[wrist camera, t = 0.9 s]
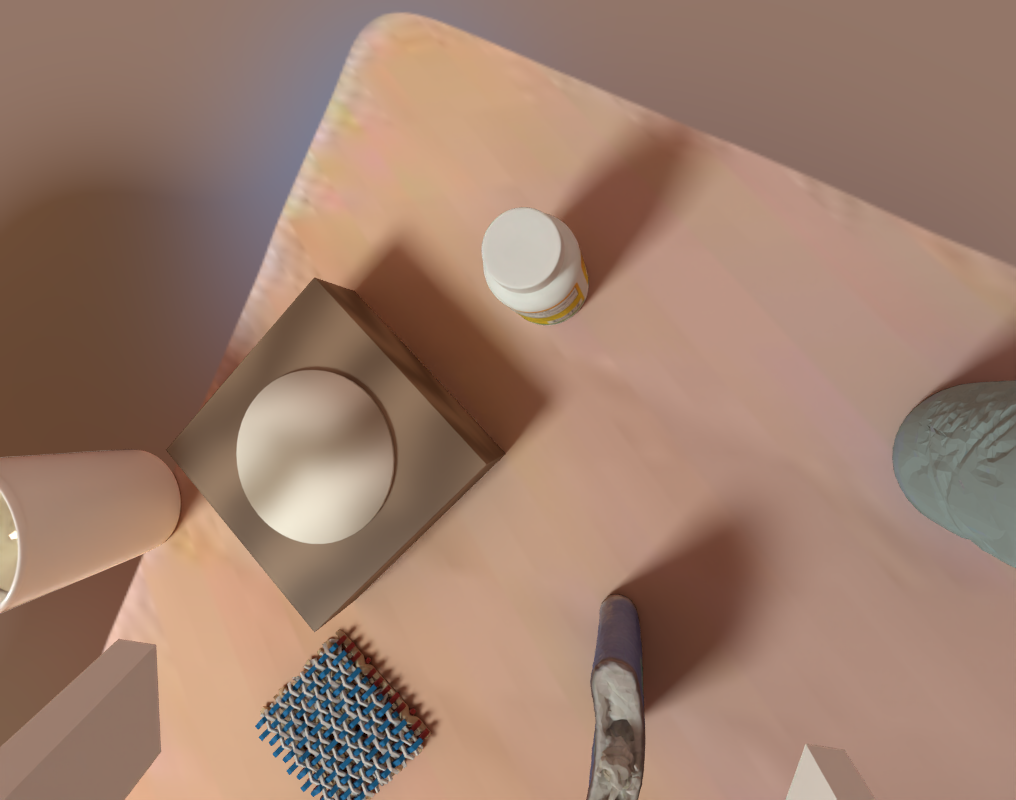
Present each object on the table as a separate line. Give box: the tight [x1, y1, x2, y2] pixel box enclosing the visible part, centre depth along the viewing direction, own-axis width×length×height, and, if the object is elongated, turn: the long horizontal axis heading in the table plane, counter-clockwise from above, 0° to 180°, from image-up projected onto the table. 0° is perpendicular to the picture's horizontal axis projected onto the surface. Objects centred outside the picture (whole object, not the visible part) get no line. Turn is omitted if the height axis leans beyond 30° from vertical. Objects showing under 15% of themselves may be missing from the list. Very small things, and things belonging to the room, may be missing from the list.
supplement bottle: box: [482, 207, 589, 325], centre depth 30 cm, size 5×5×10 cm
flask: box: [586, 594, 645, 800], centre depth 29 cm, size 9×3×11 cm, turn 178°
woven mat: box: [255, 629, 431, 800], centre depth 39 cm, size 10×11×2 cm
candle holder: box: [0, 449, 181, 614], centre depth 37 cm, size 10×10×12 cm
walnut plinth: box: [167, 278, 505, 632], centre depth 36 cm, size 16×16×5 cm
